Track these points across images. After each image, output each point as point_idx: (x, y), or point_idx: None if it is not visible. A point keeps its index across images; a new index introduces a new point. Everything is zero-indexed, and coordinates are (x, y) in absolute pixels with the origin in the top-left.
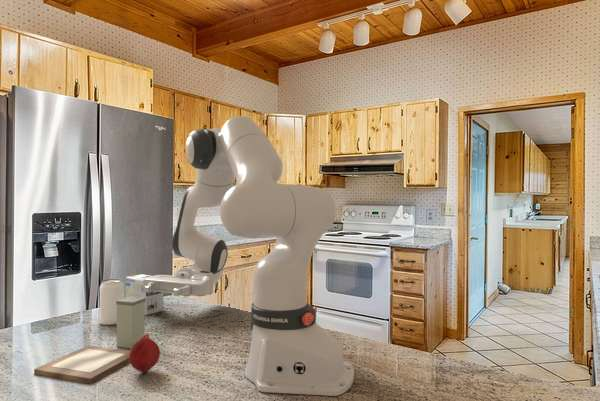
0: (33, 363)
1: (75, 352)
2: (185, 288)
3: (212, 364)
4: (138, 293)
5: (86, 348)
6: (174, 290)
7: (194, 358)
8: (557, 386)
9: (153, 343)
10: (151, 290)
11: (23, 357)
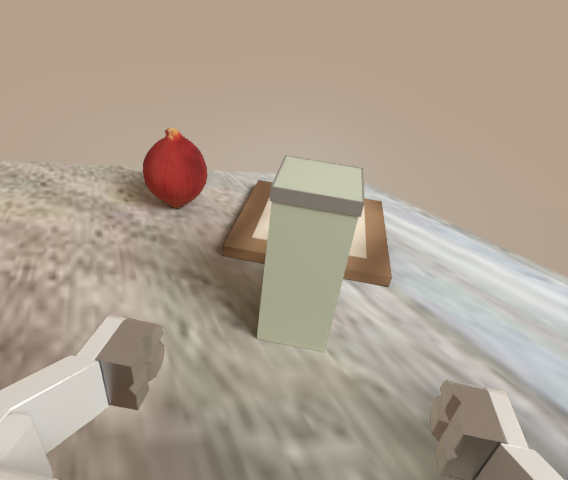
0: (429, 236)
1: (379, 245)
2: (29, 383)
3: (14, 225)
4: None
5: (376, 262)
6: (151, 323)
7: (61, 248)
8: None
9: (154, 145)
10: (442, 451)
11: (484, 255)
